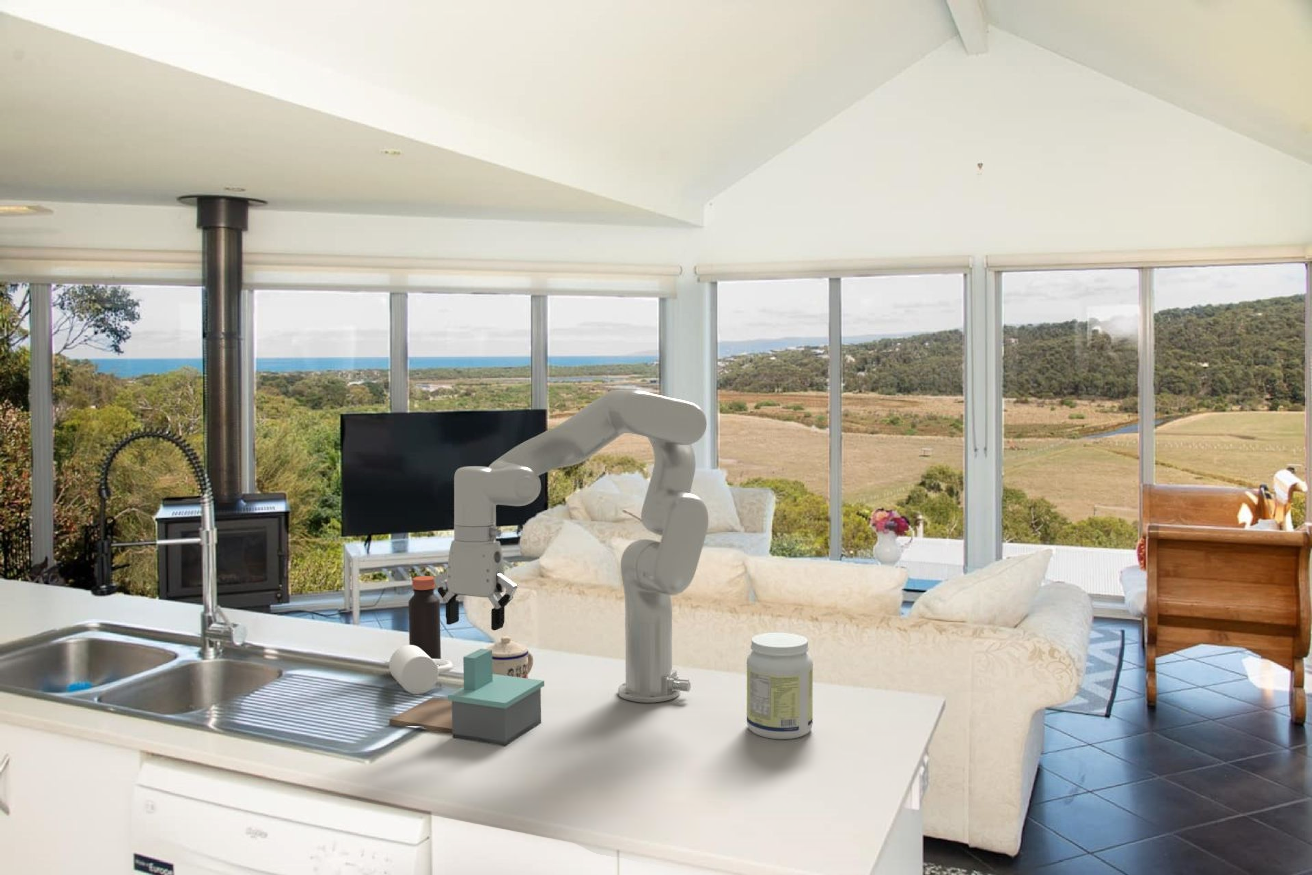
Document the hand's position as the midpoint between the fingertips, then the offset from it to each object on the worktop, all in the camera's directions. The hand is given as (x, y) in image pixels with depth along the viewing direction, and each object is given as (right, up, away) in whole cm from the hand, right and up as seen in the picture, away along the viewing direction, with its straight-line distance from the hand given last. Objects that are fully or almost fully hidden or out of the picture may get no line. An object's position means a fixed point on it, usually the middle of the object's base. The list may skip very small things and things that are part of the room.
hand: (474, 625), depth 194 cm
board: (-7, -19, +7) cm, 21 cm away
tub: (+4, -19, 0) cm, 20 cm away
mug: (-15, -18, +27) cm, 36 cm away
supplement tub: (+56, -19, 0) cm, 59 cm away
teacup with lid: (+4, -18, +23) cm, 29 cm away
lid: (+4, -13, 0) cm, 14 cm away
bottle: (-18, -17, +41) cm, 48 cm away
